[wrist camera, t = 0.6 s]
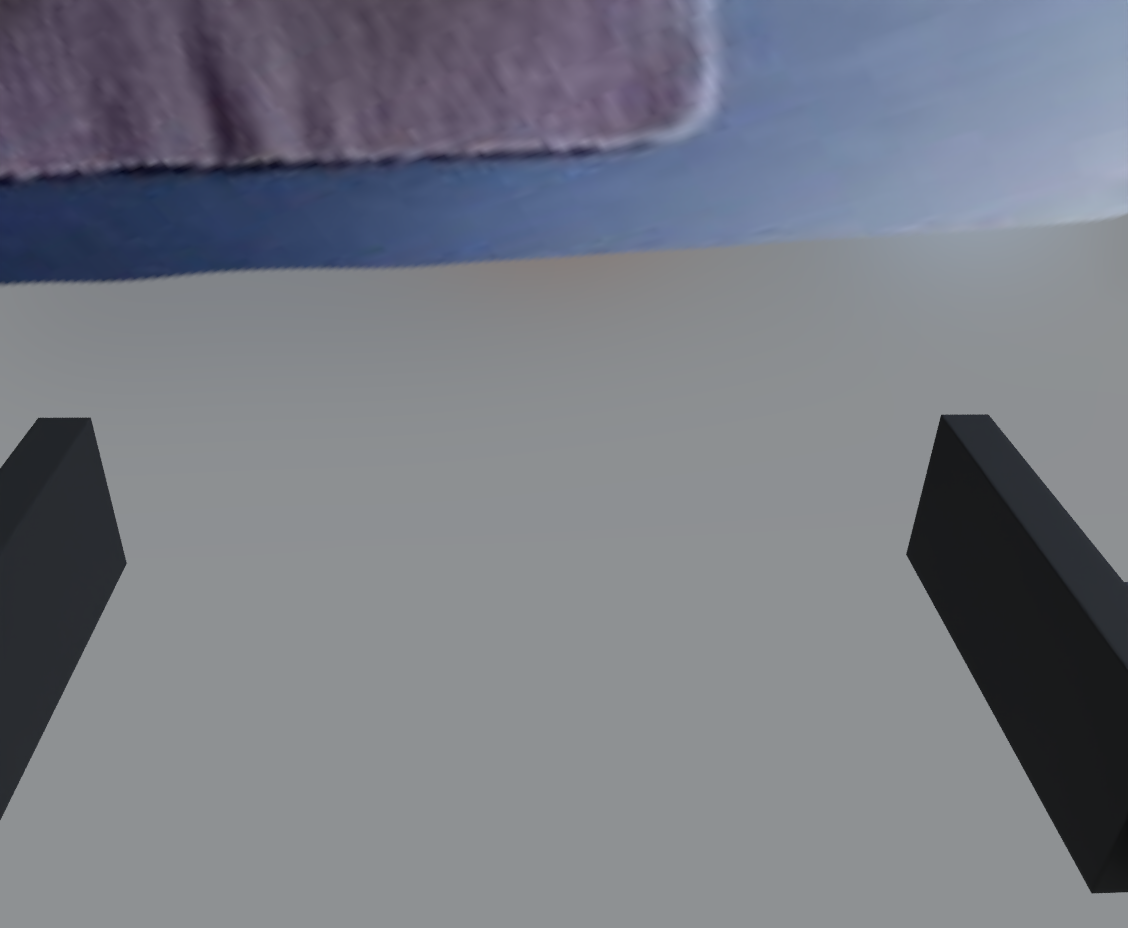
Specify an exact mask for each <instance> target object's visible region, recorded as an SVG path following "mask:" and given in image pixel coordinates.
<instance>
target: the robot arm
mask: <svg viewBox="0 0 1128 928" xmlns="http://www.w3.org/2000/svg"><path fill="white" fill-rule="evenodd" d="M906 555H907V557H908V558H909V560H910V562H911V564H912V566H913V568H914V569H915V571H916V573H917V575H918V576H919V578H920V580H921V582H922V584H923V586H924V588H925V590H926V591H927V593H928V595H929V597H930V598H931V600H932V602H933V604H934V606H935V608H936V610H937V611H938V613H939V615H940V617H941V619H942V621H943V622H944V624H945V626H946V628H947V630H948V631H949V633H950V635H951V637H952V639H953V641H954V642H955V644H956V646H957V648H958V650H959V652H960V653H961V655H962V657H963V659H964V661H965V663H966V664H967V666H968V668H969V670H970V672H971V674H972V675H973V677H974V679H975V681H976V683H977V685H978V686H979V688H980V690H981V692H982V694H983V696H984V697H985V699H986V701H987V703H988V705H989V706H990V708H991V710H992V712H993V714H994V715H995V717H996V719H997V721H998V723H999V725H1000V727H1001V728H1002V730H1003V732H1004V733H1005V736H1006V738H1007V739H1008V741H1009V743H1010V745H1011V747H1012V748H1013V750H1014V752H1015V754H1016V756H1017V757H1018V759H1019V761H1020V763H1021V765H1022V767H1023V769H1024V770H1025V772H1026V774H1027V776H1028V778H1029V780H1030V781H1031V783H1032V785H1033V787H1034V788H1035V791H1036V792H1037V794H1038V796H1039V798H1040V800H1041V801H1042V803H1043V805H1044V807H1045V809H1046V811H1047V812H1048V814H1049V816H1050V818H1051V820H1052V822H1053V823H1054V825H1055V827H1056V829H1057V831H1058V833H1059V834H1060V836H1061V838H1062V840H1063V842H1064V844H1065V845H1066V847H1067V849H1068V851H1069V853H1070V854H1071V856H1072V858H1073V860H1074V861H1075V864H1076V866H1077V867H1078V869H1079V871H1080V873H1081V875H1082V876H1083V878H1084V880H1085V882H1086V884H1087V886H1088V887H1089V889H1090V891H1091V893H1115V892H1128V582H1123V580H1122V579H1121V578H1120V577H1119V576H1118V574H1117V573H1116V572H1115V571H1114V569H1113V568H1112V567H1111V566H1110V564H1109V563H1108V562H1107V561H1106V559H1105V558H1104V557H1103V556H1102V555H1101V553H1100V552H1099V551H1098V550H1097V548H1096V547H1095V546H1094V545H1093V543H1092V542H1091V541H1090V540H1089V538H1088V537H1087V536H1086V535H1085V534H1084V532H1083V531H1082V530H1081V529H1080V528H1079V526H1078V525H1077V524H1076V522H1075V521H1074V520H1073V519H1072V517H1071V516H1070V515H1069V514H1068V512H1067V511H1066V510H1065V509H1064V508H1063V507H1062V505H1061V504H1060V503H1059V501H1058V500H1057V499H1056V498H1055V496H1054V495H1053V494H1052V493H1051V491H1050V490H1049V489H1048V488H1047V486H1046V485H1045V484H1044V483H1043V482H1042V480H1041V479H1040V478H1039V477H1038V475H1037V474H1036V473H1035V472H1034V470H1033V469H1032V468H1031V467H1030V465H1029V464H1028V463H1027V462H1026V461H1025V459H1024V458H1023V457H1022V456H1021V454H1020V453H1019V452H1018V451H1017V449H1016V448H1015V447H1014V446H1013V444H1012V443H1011V442H1010V441H1009V440H1008V438H1007V437H1006V436H1005V435H1004V433H1003V432H1002V431H1001V430H1000V428H999V427H998V426H997V425H996V423H995V422H994V421H993V420H992V418H991V417H990V416H989V415H941V418H940V422H939V426H938V430H937V434H936V438H935V442H934V446H933V450H932V454H931V458H930V462H929V466H928V470H927V474H926V478H925V482H924V486H923V490H922V494H921V498H920V502H919V506H918V510H917V514H916V518H915V522H914V526H913V530H912V534H911V538H910V542H909V546H908V550H907V554H906ZM125 566H126V560H125V555H124V551H123V547H122V543H121V539H120V535H119V531H118V527H117V523H116V519H115V515H114V510H113V506H112V502H111V498H110V494H109V490H108V486H107V482H106V478H105V474H104V470H103V466H102V462H101V458H100V453H99V449H98V445H97V441H96V437H95V433H94V430H93V425H92V421H91V418H38V419H37V420H36V422H35V423H34V425H33V426H32V427H31V429H30V430H29V431H28V432H27V434H26V435H25V436H24V438H23V439H22V440H21V442H20V443H19V444H18V446H17V447H16V448H15V450H14V451H13V452H12V454H11V455H10V457H9V458H8V459H7V460H6V462H5V463H4V464H3V466H2V467H1V468H0V820H1V818H2V816H3V814H4V812H5V810H6V807H7V806H8V803H9V801H10V799H11V797H12V795H13V793H14V791H15V789H16V787H17V785H18V783H19V781H20V779H21V777H22V775H23V773H24V771H25V768H26V767H27V765H28V763H29V761H30V758H31V757H32V755H33V753H34V751H35V749H36V747H37V745H38V742H39V740H40V738H41V736H42V734H43V732H44V730H45V728H46V726H47V724H48V722H49V720H50V718H51V716H52V714H53V712H54V710H55V708H56V706H57V704H58V702H59V700H60V698H61V696H62V694H63V692H64V690H65V688H66V685H67V683H68V681H69V679H70V677H71V675H72V673H73V671H74V669H75V667H76V665H77V663H78V661H79V659H80V657H81V655H82V653H83V651H84V649H85V647H86V645H87V643H88V641H89V639H90V637H91V634H92V633H93V630H94V629H95V627H96V624H97V622H98V620H99V618H100V616H101V614H102V612H103V610H104V608H105V606H106V604H107V602H108V600H109V598H110V596H111V594H112V592H113V590H114V588H115V586H116V584H117V582H118V580H119V578H120V576H121V574H122V572H123V570H124V568H125Z"/></svg>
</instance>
